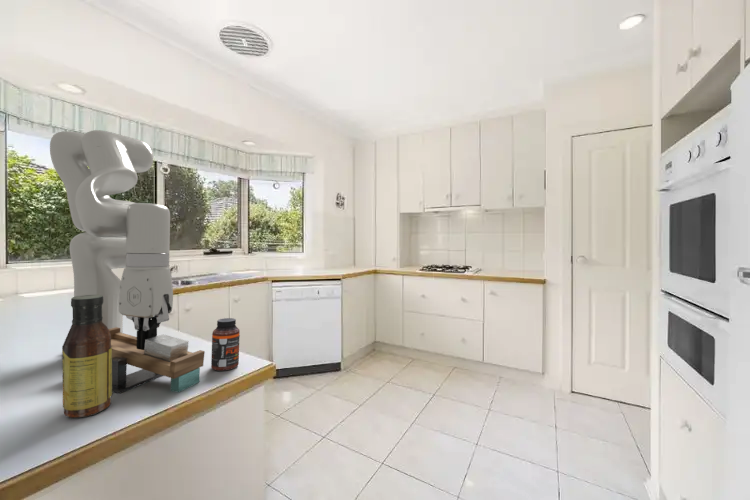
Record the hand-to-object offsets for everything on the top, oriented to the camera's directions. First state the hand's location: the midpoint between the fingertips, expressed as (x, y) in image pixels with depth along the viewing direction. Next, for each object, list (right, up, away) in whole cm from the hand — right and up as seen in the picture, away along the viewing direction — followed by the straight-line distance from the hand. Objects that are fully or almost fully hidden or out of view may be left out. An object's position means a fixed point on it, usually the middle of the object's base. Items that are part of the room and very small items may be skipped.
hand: (146, 347), depth 66 cm
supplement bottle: (+13, -7, +8) cm, 17 cm away
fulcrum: (-2, -7, 0) cm, 7 cm away
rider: (+5, -2, -1) cm, 5 cm away
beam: (-2, -5, +1) cm, 5 cm away
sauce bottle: (-1, -7, -13) cm, 15 cm away
